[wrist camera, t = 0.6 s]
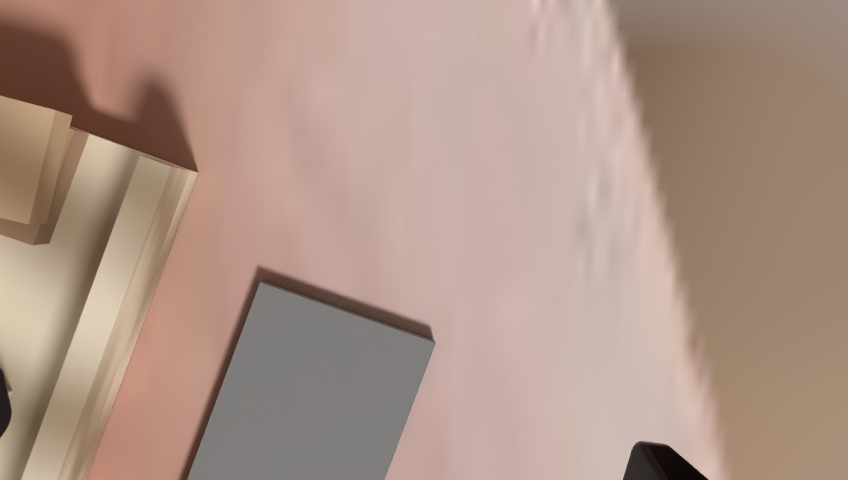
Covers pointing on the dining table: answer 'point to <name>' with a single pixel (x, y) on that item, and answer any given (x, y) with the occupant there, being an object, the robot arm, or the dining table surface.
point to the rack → (82, 306)
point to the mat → (311, 394)
